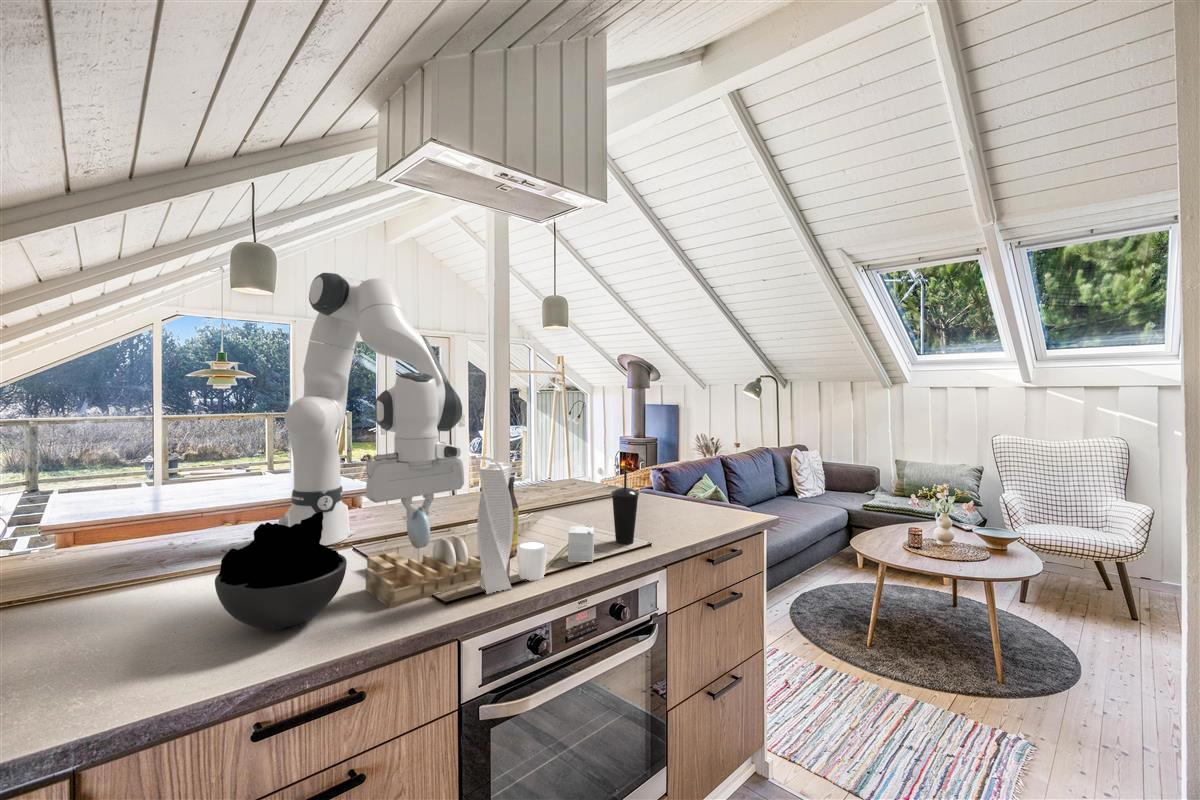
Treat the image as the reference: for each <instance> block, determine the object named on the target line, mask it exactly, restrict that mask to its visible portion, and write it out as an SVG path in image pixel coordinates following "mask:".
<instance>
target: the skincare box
mask: <svg viewBox="0 0 1200 800" xmlns="http://www.w3.org/2000/svg"><path fill="white" fill-rule="evenodd" d="M567 543H568V544H567V562H568V563H574V562H580V561H581V562H582V561H588V562H592V563H593V561H594V554H595V526H580V525H578V526H576V525H573V526H572V525H571V526H570V528H569V530H568V540H567Z"/></svg>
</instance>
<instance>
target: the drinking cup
mask: <svg viewBox="0 0 1200 800" xmlns="http://www.w3.org/2000/svg"><path fill="white" fill-rule="evenodd" d="M627 471H628V469H627V468H624V470H623V476H624V477H623V482H624V483H623V487H618V488H617V489H615V490H614V489H613V490H612V491H611V493H610V494H611V496H612V509H613V510H612V511H613V521H614V522H613V523H614V535H615V537H614V538H615V543H617V544H618V543H619V544H618V545H631V543H632V544H633V543H634V542H635V541H634V539H635V529H636V521H637V511H638V509H637V508H638V502H639V500H638V499H639V496H640V492H639V491H638V490H636V489H633V488H630V487H627V486H628V485H627V484H628V483H627V481H628V479H627V478H628V477H627V476H628V475H627V473H628V472H627Z"/></svg>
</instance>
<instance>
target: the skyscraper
mask: <svg viewBox="0 0 1200 800" xmlns="http://www.w3.org/2000/svg"><path fill="white" fill-rule="evenodd" d="M479 460H486V461H490V462H489V463H488V465H485V466H484V467H481V466H480V462H479ZM475 462H476V465H477V469H478V473H479V480H480V485H481V492H480V498H479V503H478V510H477V525H476V526H477V529H476V531H477V545H478V553H479V554H478V556H479V560H480V562H481V579H480V582H478V586H479V585H480V586H482V587H483V588H484V589H485V590H486V592H485V593H486V595H490V594H493V592H495V593H497V592H496V591H499V592H503V591H502V590H504V591H508V589H509V590H513V588H512V585H511V582H510V579H509V575H508V573H507V569H508V565H509V560H510V557H509V556H510V552H511V546H512V539H513V523H514V521H513V507H512V501H511V497H510V493H509V489H508V484H509V480H510V475H512V469H513V464H512V463H510V462H507V461H498V460H495V459H494V458H491V457H487V456H479V457H476V458H475ZM480 586H479V587H480Z"/></svg>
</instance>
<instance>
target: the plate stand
mask: <svg viewBox="0 0 1200 800" xmlns="http://www.w3.org/2000/svg"><path fill="white" fill-rule="evenodd" d="M366 559H367V560H366V563H367V565H366V566H367V567H366V568H371V569H372V570H374V571H375V572H377V573H379V572H383V571H387V570H391V569H395V562H396V561H399V562H401V563H403V564H405V565H406V566H407V565H408V558H405V557H403V556H401V555H400V554H398V553H396V552H395V551H387V552H383V553H377V554H373V555H369V556H366Z"/></svg>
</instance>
